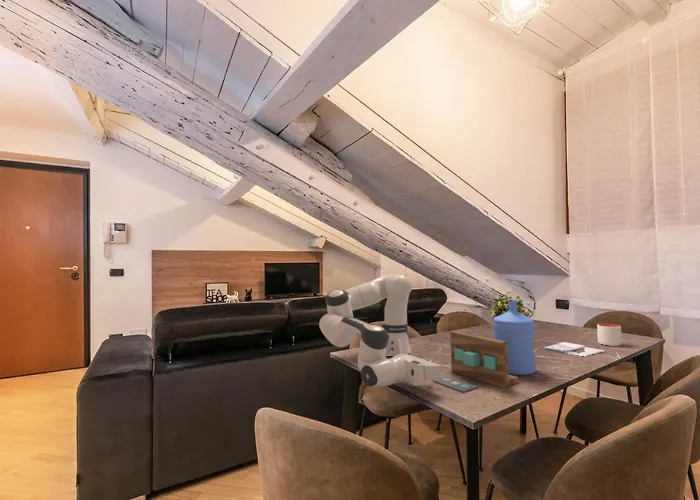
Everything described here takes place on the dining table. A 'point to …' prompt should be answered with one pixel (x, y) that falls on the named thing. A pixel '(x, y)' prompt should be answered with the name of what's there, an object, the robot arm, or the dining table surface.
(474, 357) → the button middle
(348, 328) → the robot arm
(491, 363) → the button near
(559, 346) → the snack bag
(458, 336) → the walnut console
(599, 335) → the cup
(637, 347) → the dining table surface
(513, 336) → the water jug
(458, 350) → the button far
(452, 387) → the card
